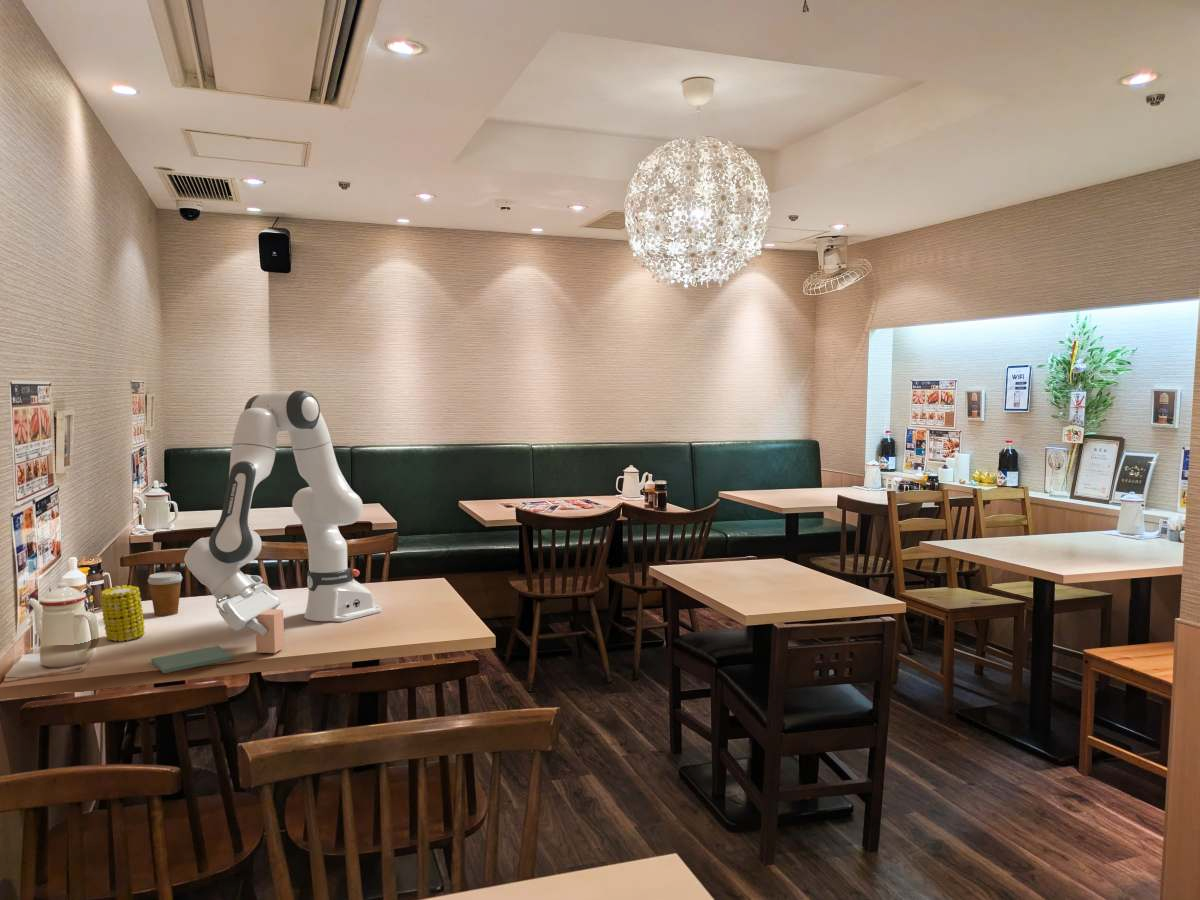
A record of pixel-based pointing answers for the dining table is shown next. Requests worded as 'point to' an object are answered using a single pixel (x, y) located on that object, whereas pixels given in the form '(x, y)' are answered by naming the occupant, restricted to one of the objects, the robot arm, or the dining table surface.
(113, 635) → the food
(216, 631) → the dining table surface
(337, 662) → the dining table surface
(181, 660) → the green pad
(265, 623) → the terracotta block
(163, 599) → the disposable coffee cup
